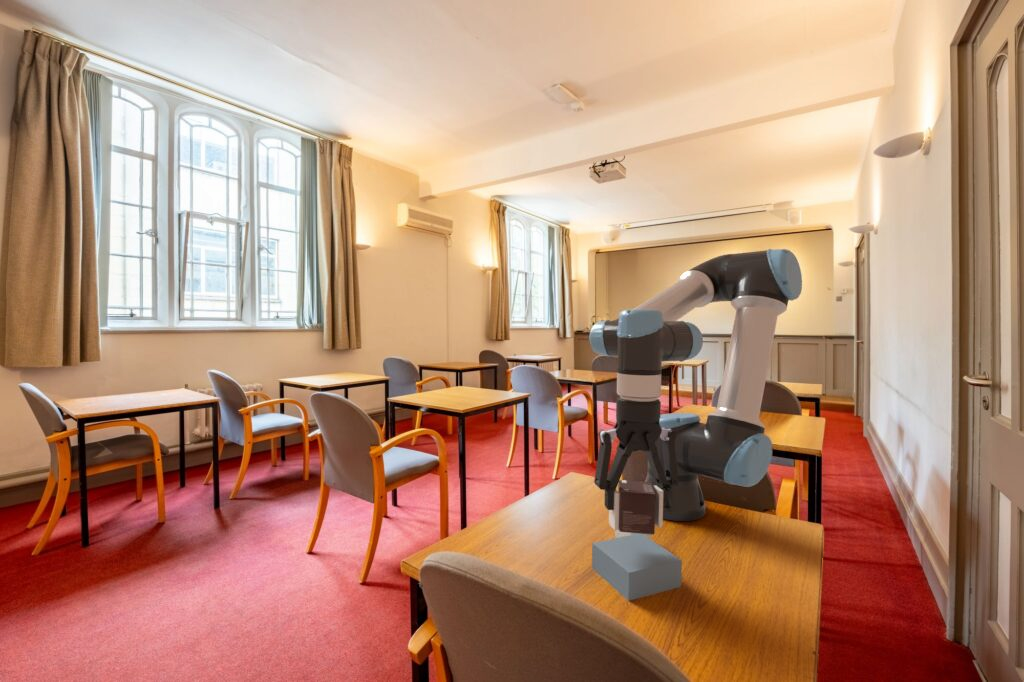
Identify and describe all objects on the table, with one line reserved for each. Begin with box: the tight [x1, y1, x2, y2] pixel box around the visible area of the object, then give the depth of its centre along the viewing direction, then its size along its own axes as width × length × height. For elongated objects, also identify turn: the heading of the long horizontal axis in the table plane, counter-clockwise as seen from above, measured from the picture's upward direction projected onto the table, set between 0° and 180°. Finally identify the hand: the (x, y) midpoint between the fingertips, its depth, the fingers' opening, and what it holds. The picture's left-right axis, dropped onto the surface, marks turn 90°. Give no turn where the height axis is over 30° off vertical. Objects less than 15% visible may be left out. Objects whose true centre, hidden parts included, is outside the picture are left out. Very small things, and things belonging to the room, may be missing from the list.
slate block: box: [591, 534, 683, 602], centre depth 83 cm, size 11×11×5 cm
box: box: [617, 479, 656, 536], centre depth 83 cm, size 6×6×7 cm
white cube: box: [614, 530, 652, 540], centre depth 96 cm, size 5×5×5 cm
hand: (635, 525), depth 83 cm, fingers closed on box, 7 cm apart
